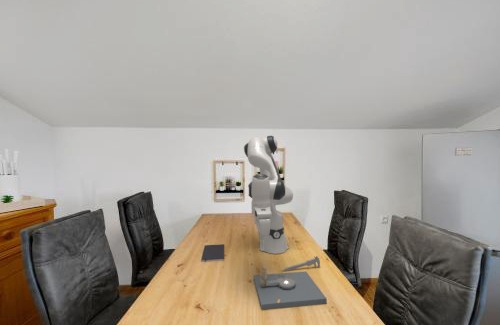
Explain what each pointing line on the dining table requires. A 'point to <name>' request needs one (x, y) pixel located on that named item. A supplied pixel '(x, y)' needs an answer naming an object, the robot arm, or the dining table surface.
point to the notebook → (213, 253)
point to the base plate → (289, 292)
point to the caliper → (304, 264)
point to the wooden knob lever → (281, 281)
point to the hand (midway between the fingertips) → (261, 239)
